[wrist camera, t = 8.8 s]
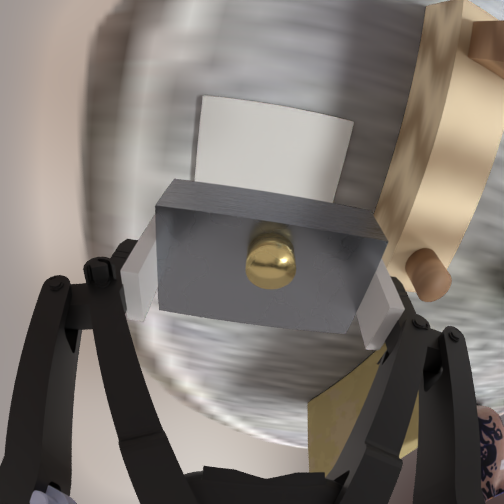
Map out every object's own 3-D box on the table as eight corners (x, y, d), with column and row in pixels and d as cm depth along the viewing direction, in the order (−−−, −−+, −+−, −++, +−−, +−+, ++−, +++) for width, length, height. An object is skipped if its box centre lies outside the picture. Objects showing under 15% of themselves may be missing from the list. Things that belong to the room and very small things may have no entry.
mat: (203, 95, 22) (202, 95, 22) (352, 121, 23) (354, 122, 22) (192, 225, 29) (191, 227, 29) (318, 244, 29) (319, 246, 29)
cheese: (384, 312, 34) (417, 424, 22) (437, 326, 36) (474, 421, 23) (303, 402, 46) (307, 486, 34) (352, 408, 48) (362, 485, 35)
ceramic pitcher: (495, 385, 47) (527, 480, 26) (490, 413, 56) (511, 488, 35) (427, 419, 53) (447, 518, 32) (434, 440, 62) (449, 517, 41)
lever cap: (174, 178, 15) (145, 219, 11) (370, 210, 15) (397, 257, 12) (172, 274, 18) (153, 326, 15) (337, 297, 19) (349, 351, 15)
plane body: (426, 5, 16) (508, -9, 7) (479, 35, 16) (566, 43, 7) (361, 247, 29) (394, 332, 20) (411, 256, 30) (453, 334, 21)
